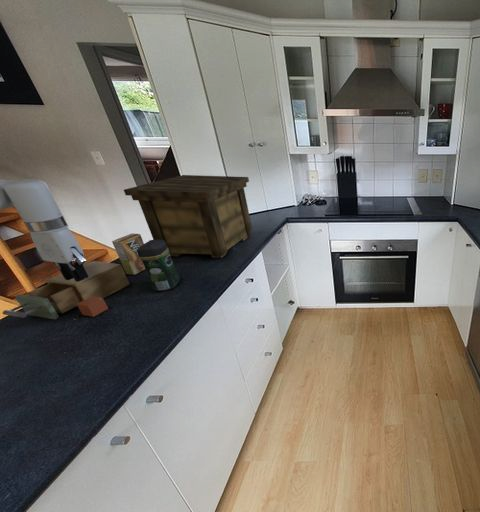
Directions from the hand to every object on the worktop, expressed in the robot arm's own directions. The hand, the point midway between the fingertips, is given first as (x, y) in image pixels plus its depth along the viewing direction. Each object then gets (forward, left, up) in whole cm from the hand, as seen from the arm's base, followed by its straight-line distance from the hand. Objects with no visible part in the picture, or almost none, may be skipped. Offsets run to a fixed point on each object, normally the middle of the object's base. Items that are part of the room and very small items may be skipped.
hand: (77, 278), depth 87 cm
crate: (+26, +49, -13) cm, 57 cm away
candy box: (+2, +30, -13) cm, 33 cm away
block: (0, 0, -13) cm, 13 cm away
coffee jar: (+17, +12, -13) cm, 25 cm away
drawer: (-12, +4, -12) cm, 17 cm away
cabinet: (-6, +14, -13) cm, 20 cm away
